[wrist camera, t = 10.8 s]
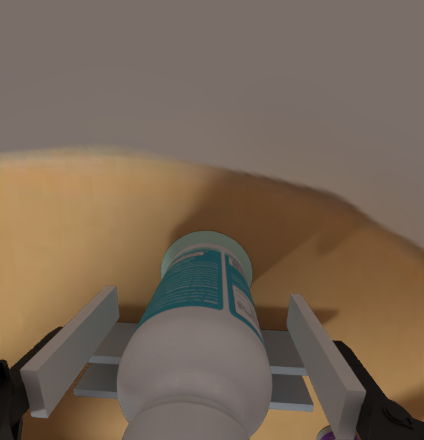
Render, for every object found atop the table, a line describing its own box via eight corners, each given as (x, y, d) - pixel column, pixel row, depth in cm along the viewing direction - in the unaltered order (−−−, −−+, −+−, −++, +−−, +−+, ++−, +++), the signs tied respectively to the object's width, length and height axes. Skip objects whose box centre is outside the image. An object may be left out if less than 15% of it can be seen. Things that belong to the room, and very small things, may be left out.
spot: (162, 311, 21) (162, 312, 20) (159, 229, 18) (158, 229, 18) (249, 315, 20) (249, 317, 20) (255, 232, 18) (255, 232, 18)
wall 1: (95, 327, 21) (67, 361, 17) (94, 321, 21) (66, 354, 17) (300, 338, 20) (319, 376, 17) (301, 331, 20) (320, 369, 16)
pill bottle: (159, 293, 20) (39, 530, 7) (183, 228, 18) (88, 373, 5) (227, 318, 20) (242, 591, 7) (258, 257, 18) (352, 464, 5)
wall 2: (99, 357, 22) (74, 395, 18) (99, 351, 22) (73, 389, 18) (295, 368, 21) (312, 411, 18) (296, 362, 21) (313, 404, 17)
